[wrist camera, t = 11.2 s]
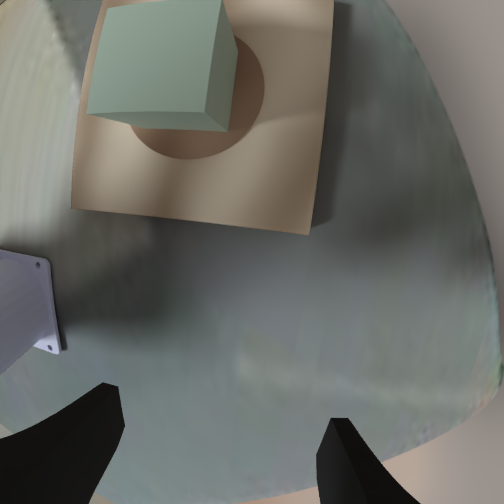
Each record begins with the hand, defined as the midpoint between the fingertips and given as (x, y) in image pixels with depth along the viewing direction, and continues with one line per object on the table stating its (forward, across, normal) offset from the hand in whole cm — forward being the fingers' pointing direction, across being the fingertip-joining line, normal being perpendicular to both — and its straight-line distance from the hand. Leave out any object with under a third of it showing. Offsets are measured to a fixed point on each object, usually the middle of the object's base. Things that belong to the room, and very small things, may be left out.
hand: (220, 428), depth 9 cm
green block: (+9, +4, -12) cm, 15 cm away
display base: (+10, +4, -12) cm, 16 cm away
